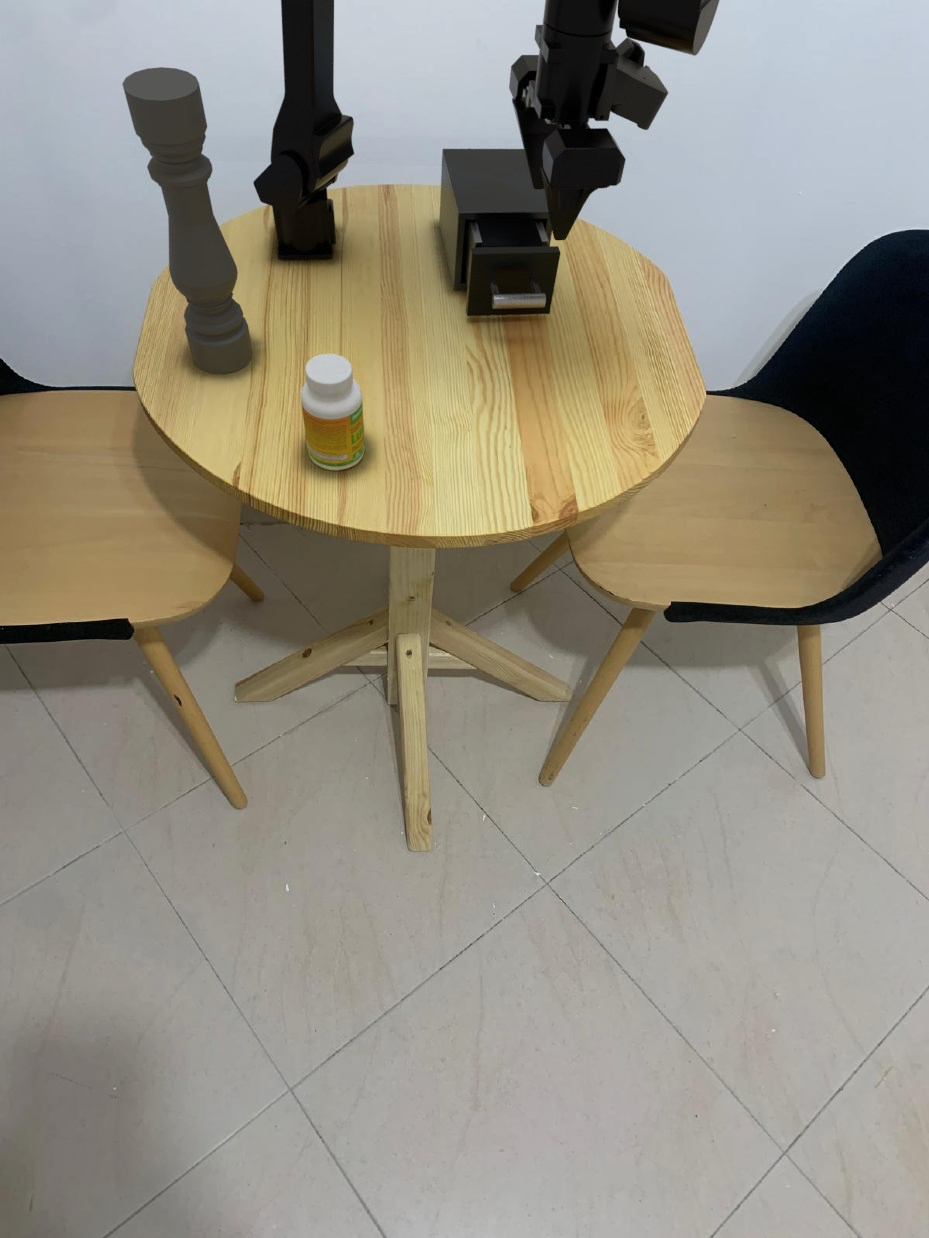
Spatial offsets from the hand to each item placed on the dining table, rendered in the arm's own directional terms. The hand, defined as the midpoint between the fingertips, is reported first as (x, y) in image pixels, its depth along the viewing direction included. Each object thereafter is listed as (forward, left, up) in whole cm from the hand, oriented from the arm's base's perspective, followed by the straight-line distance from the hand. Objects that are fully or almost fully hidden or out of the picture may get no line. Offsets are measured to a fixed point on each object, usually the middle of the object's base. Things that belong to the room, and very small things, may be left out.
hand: (548, 213), depth 75 cm
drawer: (-2, +6, -12) cm, 14 cm away
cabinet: (-2, +14, -13) cm, 20 cm away
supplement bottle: (-22, -18, -13) cm, 31 cm away
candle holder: (-33, -3, -13) cm, 36 cm away
